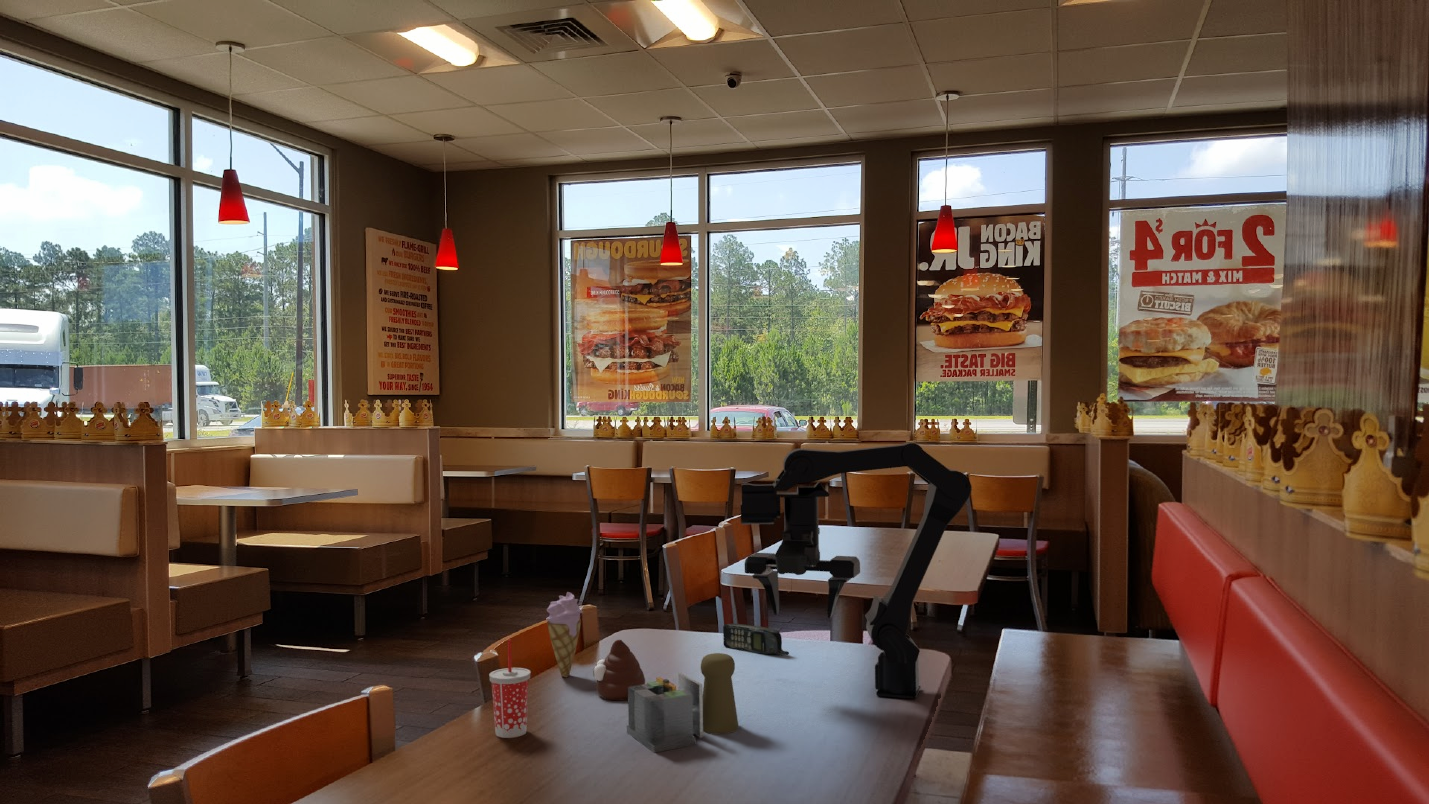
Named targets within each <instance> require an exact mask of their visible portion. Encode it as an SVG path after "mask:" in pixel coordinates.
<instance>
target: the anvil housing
mask: <svg viewBox="0 0 1429 804" xmlns="http://www.w3.org/2000/svg"><path fill="white" fill-rule="evenodd" d="M669 683H671V684H673V685H675V684H674V683H673V682H671V681H669ZM627 703H628V705H627V706H628V707H627V708H628V711H627V712H628V713H627V714H628V725H626V733H627V734H628V735H630V736H631V737H633V738H634V739H635V740H637V741H638V742H639V743H641V744H642V745H644V747H646V748H648V749H649V750H650V751H652V752H653V753H660V752H664V751H670V750H674V749H681V748H684V747H685V748H686V747H690V746H691V747H692V746H695V745H697V744H696V736H694V733H693V708H692V694H691V693H689V692H687V691H685V690H684V691H680V690H679V689H676V691H671V690H670V689H669V692H664V694H663V685H661V684H659V683H658V682H656V680H655V681H648V682H646V683H645V684H643V685H637V686H631V687H628V700H627Z"/></svg>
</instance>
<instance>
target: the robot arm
mask: <svg viewBox="0 0 1429 804" xmlns="http://www.w3.org/2000/svg"><path fill="white" fill-rule="evenodd" d="M904 467H907V468H908V469H910V470H911V471H912V472H913V473H914V474H915V475H917V476H918V477H919V478H920V479H921V480H922V481H924V482H925V483H926V484H927V485H928V487H927V490H926V495H925V499H924V509H923V514H922V516H921V519H920V522H919V524H918V526H917V529H916V531H915V533H914V534H913V537H912V539H911V541H910V544H909V547H908V549H907V550H906V553H905V555H904V557H903V559H902V562H901V564H900V566H899V569H898V571H897V573H896V575H895V577H894V580H893V582H892V585H891V586H890V588H889V590H888V592H886V594H885V595H884V596H883V597H882V598H881V597H879V596H877V595H876V594H875V595H874V596H873V600H872V602H871V606H870V608H869V610H868V611H867V613H865V615H864V616H865V618H866V620H867V621H866V624H865V627H866V631H867V634H868V636H869V638H870V640H871V641H872V643H873V645H874V646H875V647H876V648H877V649H879V650H880V651H882V652H880V653H879V655H878V656H877V662H876V663H875V665H874V688H875V690H877V691H875V692H876V693H875V695H876V696H878V697H889V698H898V699H899V698H900V699H910V700H915V699H916V698H917V697H918V695H919V693H920V691H921V688H922V686H921V685H920V683H919V682H920V681H919V677H920V676H919V655H920V652H921V650H920V648H919V647H918V645H916V643H915V642H914V640H913V639H912V638H911V636H910V635H909V634H908V631H909V626H910V622H911V616H912V610H913V609H912V607H913V602H914V600H915V597H916V595H917V593H918V591H919V589H920V586H921V585H922V583H923V579H924V577H925V575H926V573H927V571H928V568H929V567H930V564H931V563H932V559H933V557H934V556H935V552H936V551H937V548H938V546H939V544H940V542H941V540H942V537H943V536H944V534H945V533H944V532H945V531H946V528H947V527H948V525H949V524H950V523H951V522H952V520H954V518H956V516H957V515H958V514H959V513H960V511H961V510H962V508H963V507H964V506H965V505H966V503H967V501H968V499H970V497H971V494H972V488H973V487H972V484H971V481H970V479H969V477H967V475H966V474H964V473H963V472H962V471H959V470H955V469H953V468H952V469H951V468H947V466H945V465H944V464H942V463H941V462H940V461H938V460H937V459H935V458H934V457H933V456H932V455H930V454H929V453H928V452H927V451H925V450H924V449H923V448H922V446H921V445H919V444H917V443H915V442H904V443H900V444H894V445H884V446H873V447H866V448H865V447H863V448H855V449H848V450H847V449H845V450H838V451H837V450H836V451H835V450H827V449H826V450H825V449H824V450H823V449H811V448H802V447H801V448H799V447H798V448H795V449H792V450H790V451H789V452H788V453H786V455H785V456H784V458H783V461H782V470H781V472H780V473H779V474H778V476H777V477H776V478H774V481H773V483H772V484H770V483H769V484H754V483H753V484H752V483H742V484H741V501H740V524H741V525H774V524H775V520H778V518H781V498H783V513H784V515H783V517H784V518H783V519H784V524H783V525H784V530H783V531H782V540H781V543H780V545H779V547H778V548H777V550H776V552H775V553H774V552H773V553H772V552H755V553H752V554H750V555H748V556H747V557H746V558H745V560H744V574H749V575H750V574H751V575H752V579H753V580H754V579H755V580H758V581H759V582H760V583H761V584H762V586H763V588H764V590H765V592H766V595H767V597H768V598H767V599H768V600H769V603H770V604H769V605H770V606H771V609H772V612H773V615H774V616H778V615H779V612H780V611H779V609H780V592H779V591H780V590H779V574H780V575H785V574H795V575H797V576H800V575H804V574H806V573H807V572H829V574H830V575H831V577H830V578H828V579H827V582H828V595H827V611H826V612H827V619H831V618H832V617H833V613H834V611H835V608H836V605H837V603H838V602H837V601H838V599H839V597H840V593H841V591H842V590H843V587H844V585H845V583H847V582H849V581H850V580H851V579H854V578H855V577H857V576H858V575H859V574H860V573H861V561H860V559H859V558H858V557H857V556H850V555H849V556H848V555H847V556H846V555H836V556H834V557H832V558H831V559H830V560H827V559H826V560H823V559H822V560H821V551H820V547H819V546H820V543H819V542H820V540H819V539H820V538H819V535H820V533H821V532H820V530H821V529H820V527H819V498H825V497H826V498H828V497H830V492H829V491H828V490H826V489H825V488H824V487H823V485H822V482H820V481H821V480H824V479H827V478H830V477H834V476H835V475H840V474H847V473H856V472H857V473H858V472H867V471H875V470H881V469H882V470H886V469H893V468H904ZM813 482H817V483H815V484H814V485H813V486H797V489H796V491H795V492H792V491H791V492H787V491H789V490H790V489H792V488H793V487H795V486H796V485H806V484H810V483H813Z"/></svg>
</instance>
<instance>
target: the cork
mask: <svg viewBox="0 0 1429 804" xmlns="http://www.w3.org/2000/svg"><path fill="white" fill-rule="evenodd" d="M735 666H736V665H735V660H734V658H733V656H731V655H730V654H727V653H723V652H721V653H720V652H714V653H710V654H709V653H708V654H706V655H704V656H703V658H702V659H701V663H700V673H701V674H702V675H703V677H704V680H703V686H702V698H703V733H705V734H706V733H707V734H712V735H723V734H729V733H730V734H731V733H734V732H735V731H737V730H738V729H739V720H738V713H737V712H738V711H737V707H736V699H735V694H734V685H733V675H734V674H735V670H736V669H735V668H736V667H735Z"/></svg>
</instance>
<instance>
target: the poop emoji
mask: <svg viewBox="0 0 1429 804" xmlns="http://www.w3.org/2000/svg"><path fill="white" fill-rule="evenodd" d="M611 645H612V646H611V647H610V651H609V653H608V655H607V656H606V657H605V659H603V658H602V659H600V660H598V661H597V662H596V664H595V667H594V668H593V670H592V671H593V673H592V674H593V677H594V678H595V680H596V682H597V684H596V692H597V694H598V695H599V696H600V697H601V698H602V699H604V700H609V701H628V687H631V686H637V685H643V684H646V678H645V674H644V672H643V670H642V668H641V665H640V663H639V661H638V659H637V658H636V655H635V654H634V653H633V652H632V651H631V649H630V647H629V646H628V645H627V644H626V643H625V642H624V641H623V640H622V639H616V640H614V642H613V643H612V644H611Z"/></svg>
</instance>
